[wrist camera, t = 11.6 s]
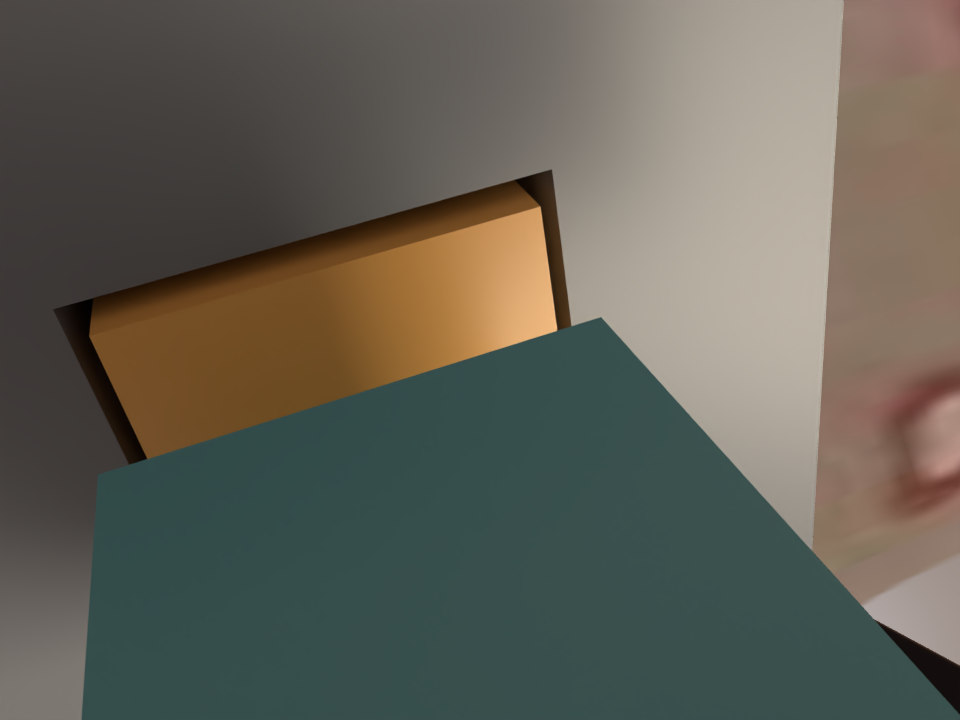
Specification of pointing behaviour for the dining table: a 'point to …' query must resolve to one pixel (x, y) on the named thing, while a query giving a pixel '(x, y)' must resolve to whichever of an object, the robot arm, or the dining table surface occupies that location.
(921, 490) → the dining table surface
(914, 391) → the dining table surface
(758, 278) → the breaker panel
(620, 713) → the teal cube
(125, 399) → the breaker button
